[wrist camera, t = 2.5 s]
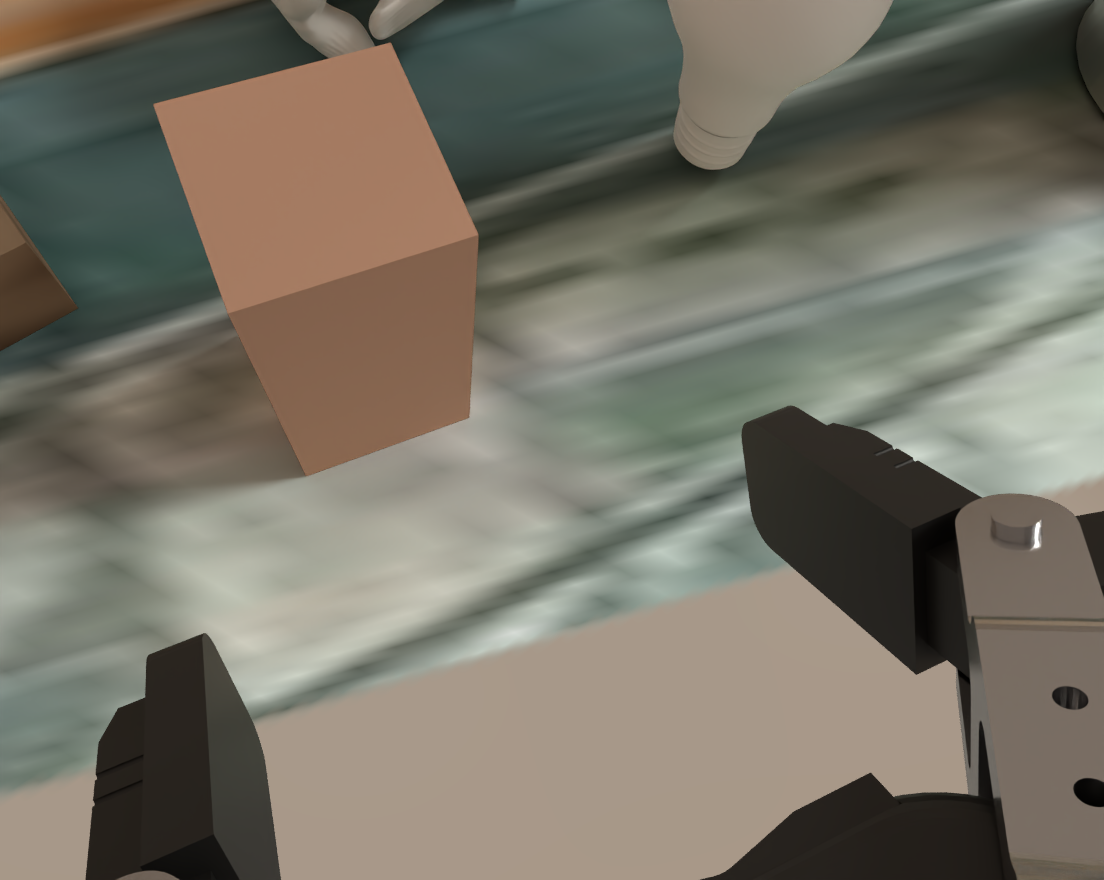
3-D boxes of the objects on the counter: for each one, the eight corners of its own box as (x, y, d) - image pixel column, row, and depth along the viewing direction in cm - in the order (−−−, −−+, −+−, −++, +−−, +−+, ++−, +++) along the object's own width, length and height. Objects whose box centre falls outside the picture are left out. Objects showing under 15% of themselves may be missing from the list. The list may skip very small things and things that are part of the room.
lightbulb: (579, 128, 32) (642, -184, 21) (716, 54, 33) (834, -267, 23) (690, 261, 30) (813, -4, 20) (826, 177, 32) (1004, -106, 22)
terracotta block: (410, 278, 29) (390, 42, 20) (469, 417, 28) (478, 234, 18) (252, 328, 28) (152, 103, 19) (306, 476, 27) (227, 313, 17)
